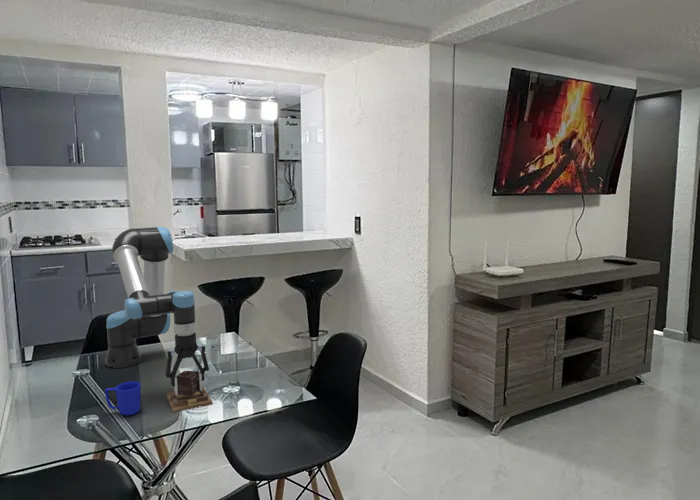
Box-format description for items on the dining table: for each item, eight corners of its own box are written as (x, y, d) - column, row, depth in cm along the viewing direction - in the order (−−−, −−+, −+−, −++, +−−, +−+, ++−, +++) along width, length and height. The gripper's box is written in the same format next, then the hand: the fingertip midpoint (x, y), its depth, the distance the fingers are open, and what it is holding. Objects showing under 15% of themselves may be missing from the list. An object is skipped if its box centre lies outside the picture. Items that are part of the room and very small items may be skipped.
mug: (111, 408, 188) (109, 382, 187) (145, 406, 189) (143, 380, 188) (102, 418, 180) (100, 391, 179) (138, 416, 181) (136, 389, 180)
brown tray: (166, 395, 199) (166, 389, 198) (203, 388, 205) (203, 382, 205) (172, 412, 185) (172, 405, 184) (212, 404, 191) (212, 397, 191)
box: (191, 396, 191) (190, 377, 190) (176, 394, 192) (175, 376, 191) (199, 389, 197) (198, 371, 196) (185, 388, 198) (184, 370, 197)
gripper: (156, 340, 183) (160, 400, 186) (216, 331, 193) (218, 389, 196) (154, 334, 190) (157, 393, 193) (211, 326, 199) (214, 382, 203)
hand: (188, 391), depth 195 cm, fingers closed on box, 8 cm apart
